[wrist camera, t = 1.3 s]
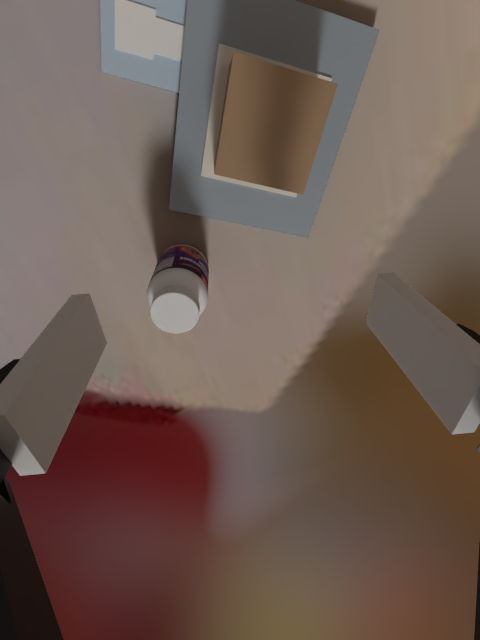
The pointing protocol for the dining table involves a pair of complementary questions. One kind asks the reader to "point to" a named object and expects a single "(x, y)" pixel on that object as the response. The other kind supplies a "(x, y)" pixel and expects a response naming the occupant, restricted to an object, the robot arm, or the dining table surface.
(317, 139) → the walnut block
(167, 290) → the pill bottle
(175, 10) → the blueprint tile
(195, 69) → the board
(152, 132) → the dining table surface
